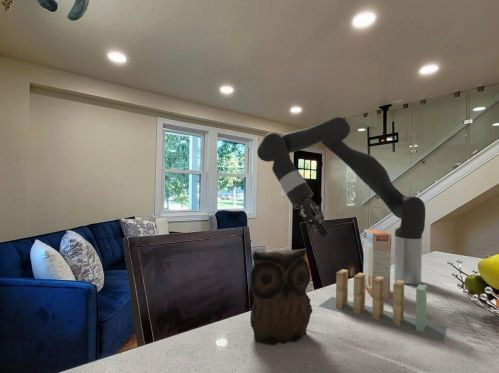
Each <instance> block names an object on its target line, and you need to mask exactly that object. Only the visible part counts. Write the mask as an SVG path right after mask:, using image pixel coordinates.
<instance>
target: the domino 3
mask: <svg viewBox="0 0 499 373" xmlns="http://www.w3.org/2000/svg"><path fill="white" fill-rule="evenodd" d="M384 303H385V299H384V277H380V276H377V277H376V278H375V279H374V280H373V297H372V305H371V307H372V318H375V319H378V320H379V319H380V317H381V316H382V315H383V314H384V311H385V310H384V306H385V304H384Z"/></svg>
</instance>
